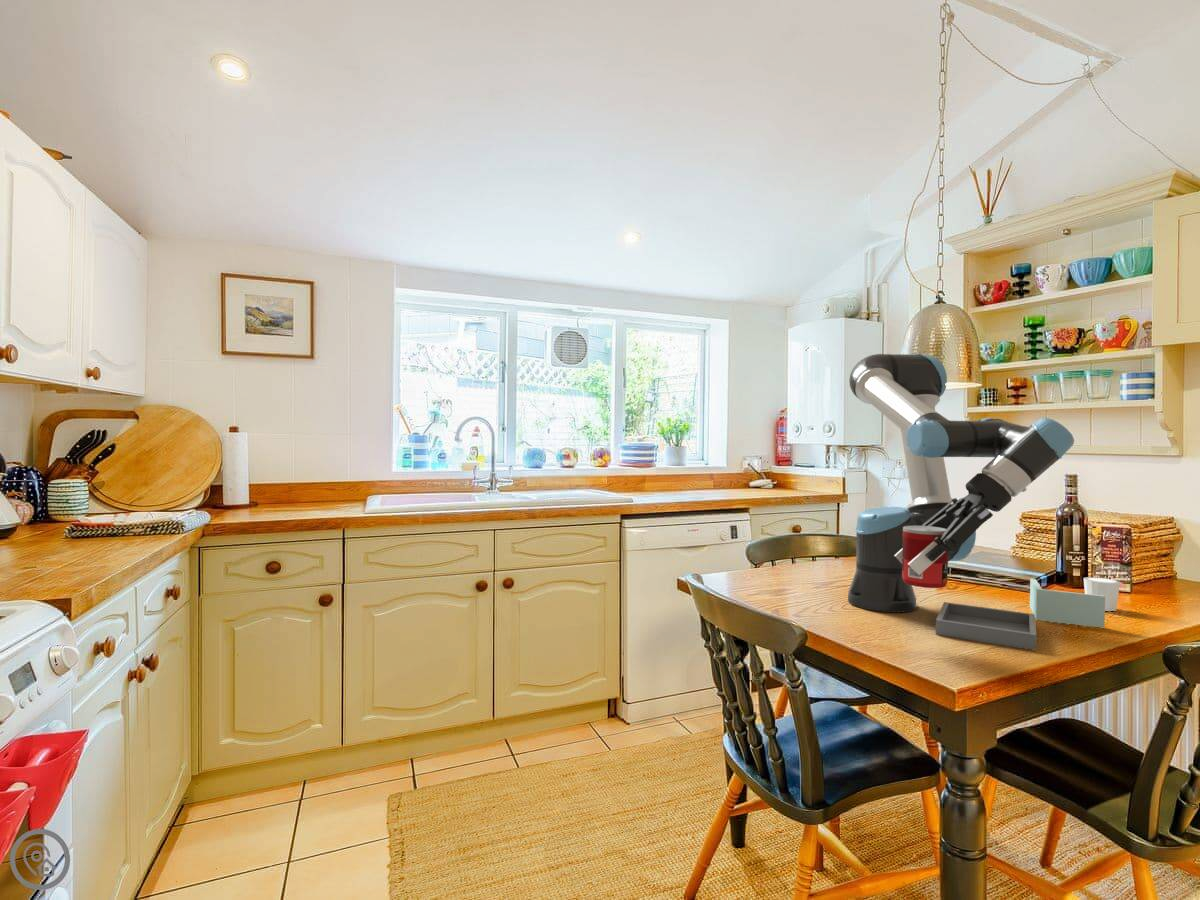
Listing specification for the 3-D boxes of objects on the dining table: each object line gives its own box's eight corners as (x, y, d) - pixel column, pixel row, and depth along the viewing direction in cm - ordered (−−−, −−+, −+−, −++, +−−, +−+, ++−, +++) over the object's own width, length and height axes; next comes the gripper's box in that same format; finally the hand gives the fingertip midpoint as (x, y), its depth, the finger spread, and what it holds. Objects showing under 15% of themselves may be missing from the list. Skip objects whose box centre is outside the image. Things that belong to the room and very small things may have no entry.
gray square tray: (935, 634, 128) (935, 620, 128) (943, 614, 142) (944, 601, 142) (1036, 650, 119) (1036, 635, 119) (1034, 628, 133) (1034, 614, 133)
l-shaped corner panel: (1104, 631, 133) (1105, 596, 133) (1036, 622, 139) (1037, 589, 139) (1092, 617, 143) (1093, 584, 143) (1029, 609, 149) (1030, 578, 149)
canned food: (953, 589, 118) (954, 532, 118) (908, 587, 120) (909, 530, 120) (939, 580, 126) (940, 526, 125) (897, 578, 127) (898, 524, 127)
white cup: (1116, 614, 143) (1117, 584, 143) (1079, 608, 149) (1080, 579, 148) (1122, 609, 148) (1122, 580, 148) (1086, 603, 153) (1086, 575, 153)
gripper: (1039, 505, 110) (940, 591, 113) (986, 493, 130) (903, 567, 133) (1007, 474, 110) (909, 561, 113) (959, 468, 131) (877, 542, 134)
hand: (906, 564), depth 123 cm, fingers closed on canned food, 8 cm apart
